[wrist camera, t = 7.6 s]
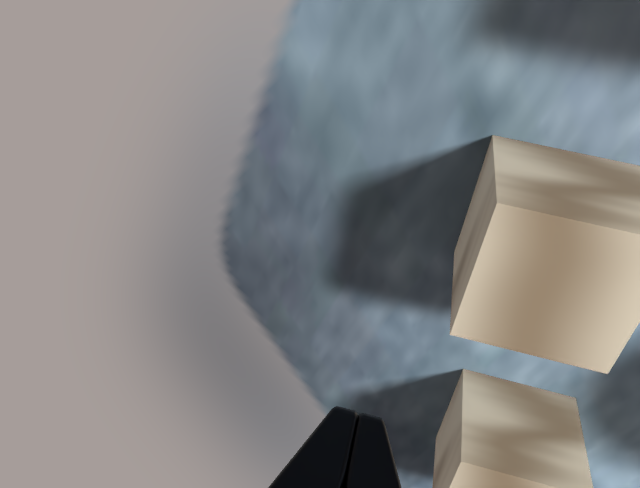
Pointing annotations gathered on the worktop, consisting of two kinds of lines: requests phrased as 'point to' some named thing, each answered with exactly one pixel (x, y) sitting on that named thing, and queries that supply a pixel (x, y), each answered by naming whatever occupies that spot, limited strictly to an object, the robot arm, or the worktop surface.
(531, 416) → the one stroke block
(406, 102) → the worktop surface
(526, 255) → the plain block
